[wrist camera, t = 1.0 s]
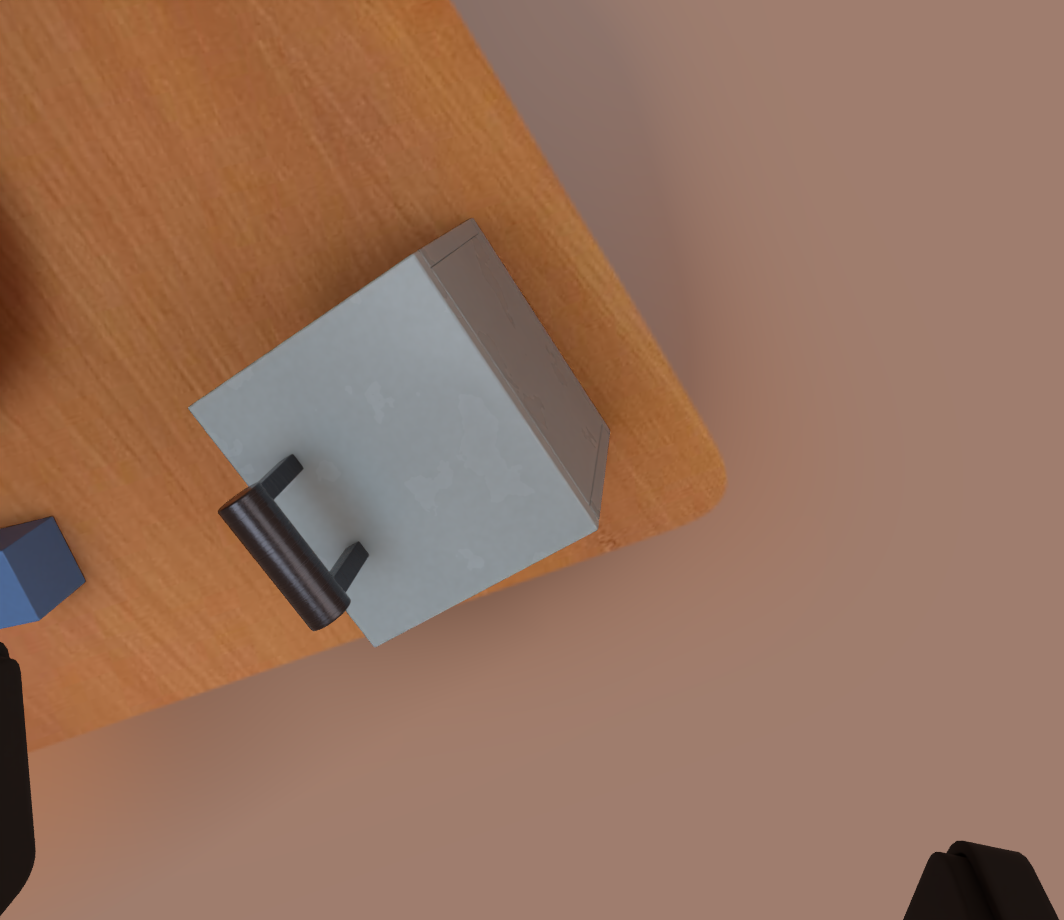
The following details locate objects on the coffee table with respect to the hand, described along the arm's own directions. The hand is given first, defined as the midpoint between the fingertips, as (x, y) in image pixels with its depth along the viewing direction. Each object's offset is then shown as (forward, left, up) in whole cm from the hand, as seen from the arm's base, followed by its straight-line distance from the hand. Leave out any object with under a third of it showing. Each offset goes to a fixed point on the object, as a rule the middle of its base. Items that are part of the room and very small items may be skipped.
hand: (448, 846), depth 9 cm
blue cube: (+6, -33, -32) cm, 47 cm away
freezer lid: (+3, -8, -22) cm, 24 cm away
